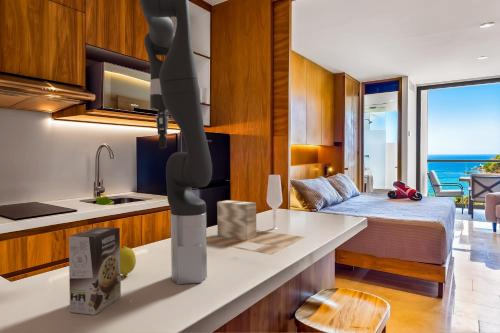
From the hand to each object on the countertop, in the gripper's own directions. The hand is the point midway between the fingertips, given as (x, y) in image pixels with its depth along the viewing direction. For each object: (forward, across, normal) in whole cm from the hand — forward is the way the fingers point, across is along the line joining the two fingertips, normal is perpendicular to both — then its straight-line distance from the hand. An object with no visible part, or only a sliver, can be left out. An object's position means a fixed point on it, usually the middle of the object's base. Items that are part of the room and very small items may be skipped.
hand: (162, 147), depth 109 cm
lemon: (+35, +19, -9) cm, 41 cm away
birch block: (+33, -12, +26) cm, 44 cm away
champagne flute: (+35, -22, +44) cm, 60 cm away
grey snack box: (+35, +36, -12) cm, 52 cm away
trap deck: (+35, -7, +31) cm, 47 cm away
